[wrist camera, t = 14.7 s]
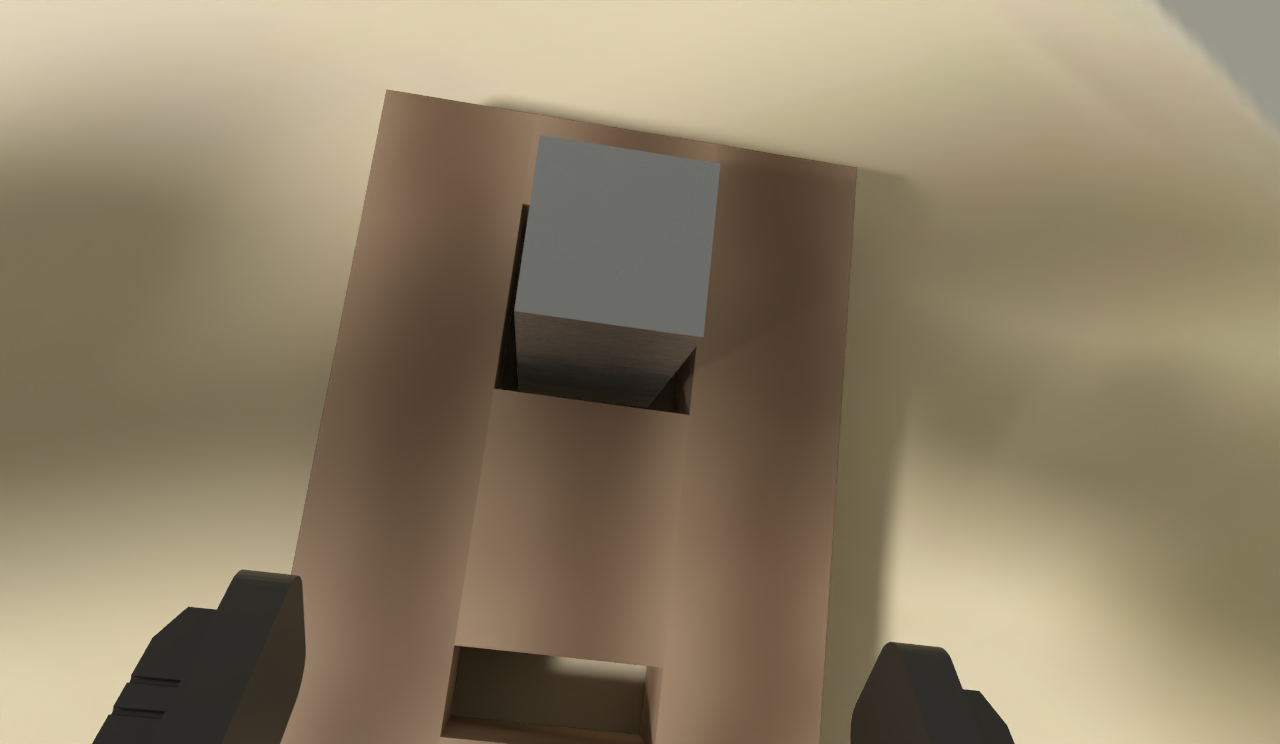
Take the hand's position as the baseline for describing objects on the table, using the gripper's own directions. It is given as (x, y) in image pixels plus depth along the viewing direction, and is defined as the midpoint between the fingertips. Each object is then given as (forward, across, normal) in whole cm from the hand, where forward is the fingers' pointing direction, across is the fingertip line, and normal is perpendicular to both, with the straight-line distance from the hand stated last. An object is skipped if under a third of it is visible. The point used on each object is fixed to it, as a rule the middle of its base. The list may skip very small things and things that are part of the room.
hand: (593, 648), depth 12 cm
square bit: (+16, 0, +4) cm, 16 cm away
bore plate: (+12, 0, +8) cm, 14 cm away
